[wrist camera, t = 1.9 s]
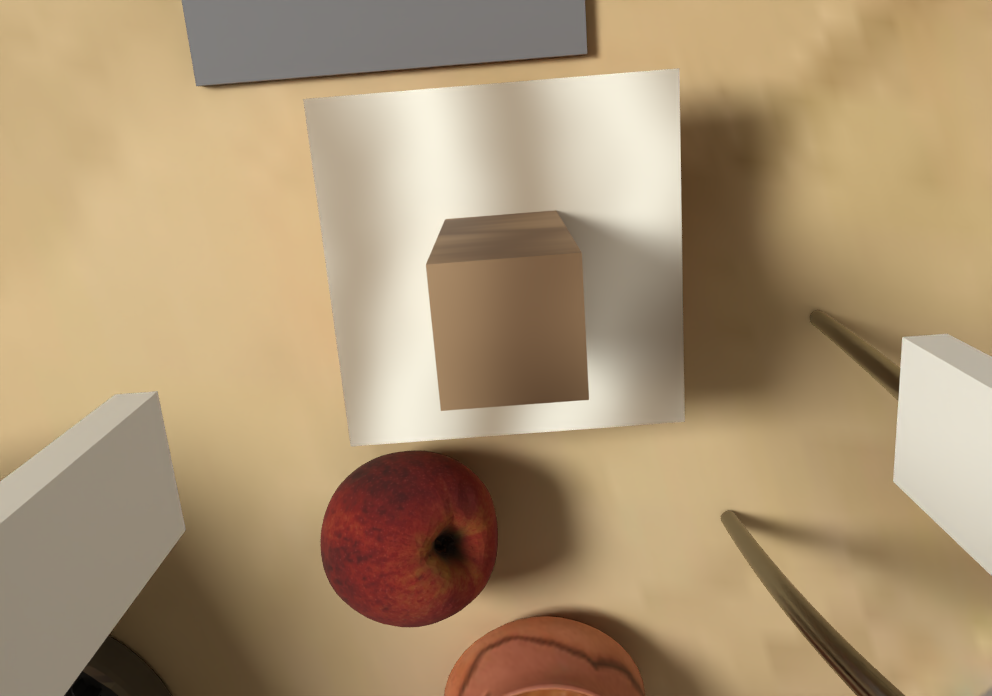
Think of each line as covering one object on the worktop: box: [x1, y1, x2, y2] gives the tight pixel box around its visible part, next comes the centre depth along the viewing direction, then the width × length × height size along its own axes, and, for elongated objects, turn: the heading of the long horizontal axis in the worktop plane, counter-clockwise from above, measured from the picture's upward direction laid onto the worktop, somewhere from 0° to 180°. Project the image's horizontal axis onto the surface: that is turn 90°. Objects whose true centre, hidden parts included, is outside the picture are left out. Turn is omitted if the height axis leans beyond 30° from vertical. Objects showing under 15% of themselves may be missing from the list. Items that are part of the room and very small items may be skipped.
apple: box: [321, 451, 498, 627], centre depth 36 cm, size 7×8×8 cm
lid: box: [303, 69, 685, 446], centre depth 27 cm, size 13×13×11 cm
